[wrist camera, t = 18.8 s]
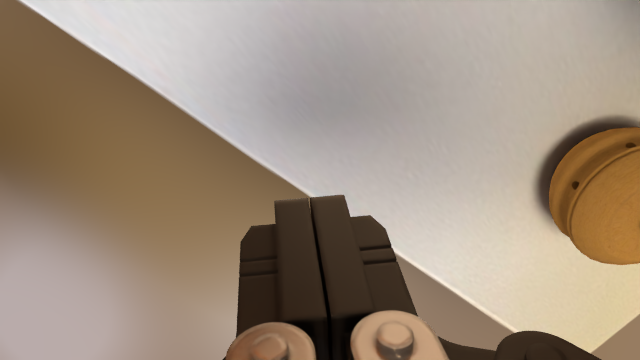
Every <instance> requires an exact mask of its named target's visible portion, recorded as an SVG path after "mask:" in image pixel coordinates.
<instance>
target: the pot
mask: <svg viewBox="0 0 640 360" xmlns="http://www.w3.org/2000/svg"><path fill="white" fill-rule="evenodd" d="M549 205H550V211H551V214H552V217H553V220H554V222H555V224H556V225H557V226H558V228H559V229H560V230H561V232H562V233H564V234H565V235H567V236H568V237H570V240H571V241H572V242H573V244H574V245H575V246H576V248H577V249H578V250H580V251H581V253H583V254H584V255H586V256H587V257H589V258H590V259H592V260H595V261H598V262H601V263H607V264H616V265H627V264H637V263H640V128H637V127H630V128H617V129H611V130H607V131H603V132H600V133H597V134H594V135H592V136H590V137H588V138H586V139H584V140H583V141H581V142H580V143H578V144H577V145H576V146H574V147H573V148H572V149H571V150H570V151H569V152H568V153H567V154H566V155H565V156H564V157H563V159H562V160H561V161H560V163H559V164H558V166H557V168H556V170H555V172H554V174H553V176H552V180H551V185H550V189H549Z"/></svg>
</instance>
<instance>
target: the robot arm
mask: <svg viewBox="0 0 640 360" xmlns="http://www.w3.org/2000/svg"><path fill="white" fill-rule="evenodd" d="M310 207H311V208H309V202H308V198H301V199H290V200H279V201H275V220H276V221H275V222H276V224H270V225H259V226H251V228H250V229H249V231H248V232H247V233H246V235H245V236H244V238H243V239H242V241H241V247H240V249H241V250H240V270H239V274H240V277H239V292H238V294H239V295H238V314H237V333H236V339H235V340H234V341H233V342H232V344H231V345H230V347H229V349H228V351H227V355H226V357H225V358H224V359H223V360H601V359H599V358H597V357H596V356H594V355H592V354H590V353H588V352H586V351H584V350H582V349H581V348H579V347H577V346H575V345H573V344H571V343H569V342H568V341H566V340H564V339H562V338H559V337H557V336H554V335H551V334H548V333H544V332H538V331H522V332H517V333H514V334H511V335H509V336H507V337H506V338H504V339H503V340H502V341H501V342H500V344H499V345H498V347H497V350H496V351H493V350H486V349H480V348H474V347H467V346H461V345H458V344H454V343H451V342H449V341H446V340H444V339H442V338H440V337H438V336H437V335H436V333H435V331H434V330H433V329H432V327H431V326H430V325H429V324H428V323H426V322H425V321H424V320H422V319H421V318H419V317H418V315H417V313H416V310H415V307H414V305H413V302H412V299H411V297H410V294H409V291H408V289H407V286H406V284H405V281H404V278H403V275H402V272H401V270H400V267H399V264H398V262H396V256H395V254H394V251H393V248H391V243H390V240H389V237H388V235H387V232H386V229H385V228H384V227H383V226H382V225H381V224H379V223H378V222H377V221H376V220H375V219H374V218H373V217H372V216H370V215H369V216H358V217H350V214H349V210H348V207H347V203H346V200H345V196H344V195H334V196H323V197H311V198H310ZM310 209H311V214H310Z"/></svg>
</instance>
